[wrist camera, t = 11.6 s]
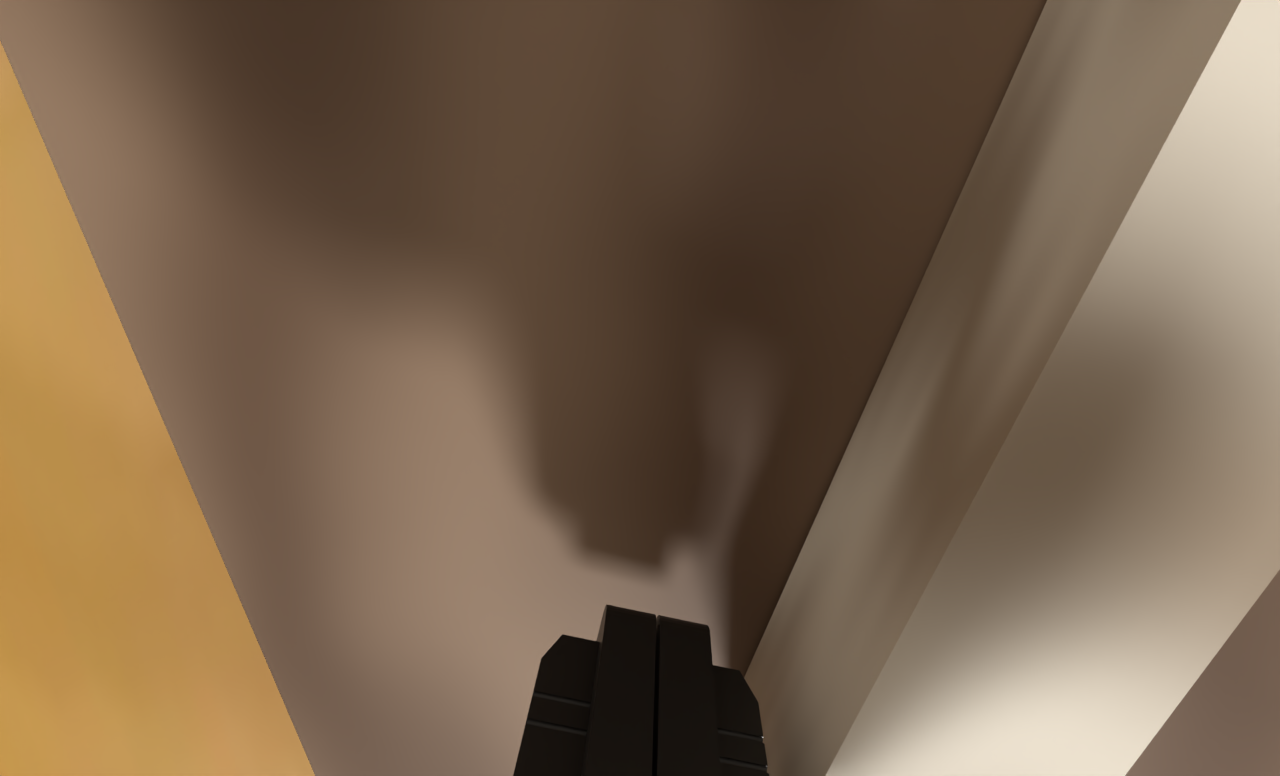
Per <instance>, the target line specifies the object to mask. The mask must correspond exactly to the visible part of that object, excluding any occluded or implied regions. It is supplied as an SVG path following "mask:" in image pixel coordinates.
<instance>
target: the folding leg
mask: <svg viewBox="0 0 1280 776" xmlns="http://www.w3.org/2000/svg"><path fill="white" fill-rule="evenodd" d="M1279 570H1280V0H1047V2H1046V4H1045V6H1044V8H1043V11H1042V13H1041V15H1040V17H1039V20H1038V22H1037V24H1036V26H1035V29H1034V31H1033V33H1032V35H1031V38H1030V40H1029V42H1028V44H1027V46H1026V49H1025V51H1024V53H1023V55H1022V58H1021V60H1020V62H1019V64H1018V67H1017V69H1016V71H1015V73H1014V76H1013V78H1012V80H1011V82H1010V84H1009V87H1008V89H1007V91H1006V93H1005V96H1004V98H1003V100H1002V102H1001V105H1000V107H999V109H998V111H997V114H996V116H995V118H994V120H993V122H992V125H991V127H990V129H989V131H988V134H987V136H986V138H985V140H984V143H983V145H982V147H981V149H980V152H979V154H978V156H977V158H976V160H975V163H974V165H973V167H972V169H971V172H970V174H969V176H968V178H967V181H966V183H965V185H964V187H963V190H962V192H961V194H960V196H959V198H958V201H957V203H956V205H955V207H954V210H953V212H952V214H951V216H950V219H949V221H948V223H947V225H946V228H945V230H944V232H943V234H942V236H941V239H940V241H939V243H938V245H937V248H936V250H935V252H934V254H933V257H932V259H931V261H930V263H929V266H928V268H927V270H926V272H925V274H924V277H923V279H922V281H921V283H920V286H919V288H918V290H917V292H916V295H915V297H914V299H913V301H912V304H911V306H910V308H909V310H908V312H907V315H906V317H905V319H904V321H903V324H902V326H901V328H900V330H899V333H898V335H897V337H896V339H895V342H894V344H893V346H892V348H891V350H890V353H889V355H888V357H887V359H886V362H885V364H884V366H883V368H882V371H881V373H880V375H879V377H878V380H877V382H876V384H875V386H874V388H873V391H872V393H871V395H870V397H869V400H868V402H867V404H866V406H865V409H864V411H863V413H862V415H861V418H860V420H859V422H858V424H857V426H856V429H855V431H854V433H853V435H852V438H851V440H850V442H849V444H848V447H847V449H846V451H845V453H844V456H843V458H842V460H841V462H840V464H839V467H838V469H837V471H836V473H835V476H834V478H833V480H832V482H831V485H830V487H829V489H828V491H827V494H826V496H825V498H824V500H823V502H822V505H821V507H820V509H819V511H818V514H817V516H816V518H815V520H814V523H813V525H812V527H811V529H810V532H809V534H808V536H807V538H806V540H805V543H804V545H803V547H802V549H801V552H800V554H799V556H798V558H797V561H796V563H795V565H794V567H793V570H792V572H791V574H790V576H789V579H788V581H787V583H786V585H785V587H784V590H783V592H782V594H781V596H780V599H779V601H778V603H777V605H776V608H775V610H774V612H773V614H772V617H771V619H770V621H769V623H768V625H767V628H766V630H765V632H764V634H763V637H762V639H761V641H760V643H759V646H758V648H757V650H756V652H755V655H754V657H753V659H752V661H751V663H750V666H749V668H748V670H747V672H746V675H745V677H744V679H745V680H746V682H747V684H748V686H749V687H750V689H751V691H752V692H753V694H754V696H755V697H756V699H757V701H758V703H759V710H760V717H761V724H762V730H763V743H764V744H765V751H766V757H767V764H768V766H767V773H769V776H1125V775H1126V774H1127V772H1128V771H1129V770H1130V768H1131V767H1132V766H1133V764H1134V763H1135V762H1136V760H1137V759H1138V758H1139V756H1140V755H1141V754H1142V752H1143V751H1144V750H1145V748H1146V747H1147V746H1148V744H1149V743H1150V742H1151V740H1152V739H1153V738H1154V736H1155V735H1156V734H1157V732H1158V731H1159V730H1160V728H1161V727H1162V726H1163V724H1164V723H1165V722H1166V720H1167V719H1168V718H1169V716H1170V715H1171V714H1172V712H1173V711H1174V710H1175V708H1176V707H1177V706H1178V704H1179V703H1180V702H1181V700H1182V699H1183V698H1184V696H1185V695H1186V694H1187V692H1188V691H1189V690H1190V688H1191V687H1192V686H1193V684H1194V683H1195V682H1196V680H1197V679H1198V678H1199V676H1200V675H1201V674H1202V672H1203V671H1204V670H1205V668H1206V667H1207V666H1208V664H1209V663H1210V662H1211V660H1212V659H1213V658H1214V656H1215V655H1216V654H1217V652H1218V651H1219V650H1220V648H1221V647H1222V646H1223V644H1224V643H1225V642H1226V640H1227V639H1228V638H1229V636H1230V635H1231V634H1232V632H1233V631H1234V630H1235V628H1236V627H1237V626H1238V624H1239V623H1240V622H1241V620H1242V619H1243V618H1244V616H1245V615H1246V614H1247V612H1248V611H1249V610H1250V608H1251V607H1252V606H1253V604H1254V603H1255V602H1256V600H1257V599H1258V598H1259V596H1260V595H1261V594H1262V592H1263V591H1264V590H1265V588H1266V587H1267V586H1268V584H1269V583H1270V582H1271V580H1272V579H1273V578H1274V576H1275V575H1276V574H1277V572H1278V571H1279Z"/></svg>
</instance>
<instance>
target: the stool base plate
mask: <svg viewBox="0 0 1280 776" xmlns="http://www.w3.org/2000/svg"><path fill="white" fill-rule="evenodd" d="M1046 2H1047V0H0V41H1V43H2V45H3V48H4V50H5V52H6V55H7V57H8V59H9V62H10V64H11V66H12V69H13V71H14V73H15V76H16V78H17V80H18V83H19V85H20V87H21V90H22V92H23V94H24V97H25V99H26V101H27V104H28V106H29V108H30V111H31V113H32V115H33V118H34V120H35V122H36V125H37V127H38V129H39V132H40V134H41V136H42V139H43V141H44V143H45V146H46V148H47V150H48V153H49V155H50V157H51V160H52V162H53V164H54V167H55V169H56V171H57V174H58V176H59V178H60V181H61V183H62V185H63V188H64V190H65V192H66V195H67V197H68V199H69V202H70V204H71V206H72V209H73V211H74V213H75V216H76V218H77V220H78V223H79V225H80V227H81V230H82V232H83V234H84V237H85V239H86V241H87V244H88V246H89V248H90V251H91V253H92V255H93V258H94V260H95V262H96V265H97V267H98V269H99V272H100V274H101V276H102V279H103V281H104V283H105V286H106V288H107V290H108V293H109V295H110V297H111V300H112V302H113V304H114V307H115V309H116V312H117V314H118V316H119V319H120V321H121V323H122V326H123V328H124V330H125V333H126V335H127V337H128V340H129V342H130V344H131V347H132V349H133V351H134V354H135V356H136V358H137V361H138V363H139V365H140V368H141V370H142V372H143V375H144V377H145V379H146V382H147V384H148V386H149V389H150V391H151V393H152V396H153V398H154V400H155V403H156V405H157V407H158V410H159V412H160V414H161V417H162V419H163V421H164V424H165V426H166V428H167V431H168V433H169V435H170V438H171V440H172V442H173V445H174V447H175V449H176V452H177V454H178V456H179V459H180V461H181V463H182V466H183V468H184V470H185V473H186V475H187V477H188V480H189V482H190V484H191V487H192V489H193V491H194V494H195V496H196V498H197V501H198V503H199V505H200V508H201V510H202V512H203V515H204V517H205V519H206V522H207V524H208V526H209V529H210V531H211V533H212V536H213V538H214V540H215V543H216V545H217V547H218V550H219V552H220V554H221V557H222V559H223V561H224V564H225V566H226V568H227V571H228V573H229V575H230V578H231V580H232V582H233V585H234V587H235V589H236V592H237V594H238V596H239V599H240V601H241V603H242V606H243V608H244V610H245V613H246V615H247V617H248V620H249V622H250V624H251V627H252V629H253V631H254V634H255V636H256V638H257V641H258V643H259V645H260V648H261V650H262V652H263V655H264V657H265V659H266V662H267V664H268V666H269V669H270V671H271V673H272V676H273V678H274V680H275V683H276V685H277V687H278V690H279V692H280V694H281V697H282V699H283V701H284V704H285V706H286V708H287V711H288V713H289V715H290V718H291V720H292V722H293V725H294V727H295V729H296V732H297V734H298V736H299V739H300V741H301V743H302V746H303V748H304V750H305V753H306V755H307V757H308V760H309V762H310V764H311V767H312V769H313V771H314V774H315V776H513V774H514V770H515V766H516V761H517V757H518V753H519V749H520V745H521V741H522V736H523V732H524V728H525V724H526V720H527V715H528V711H529V707H530V703H531V699H532V695H533V690H534V686H535V682H536V678H537V674H538V669H539V665H540V661H541V658H542V657H543V656H544V655H545V653H546V652H547V651H548V650H549V649H550V648H551V647H552V646H553V644H554V643H555V642H556V641H557V640H558V639H559V638H560V636H561V635H562V634H564V635H568V636H573V637H578V638H583V639H588V640H593V641H596V640H597V636H598V632H599V628H600V624H601V620H602V616H603V612H604V609H605V606H606V604H607V605H612V606H617V607H622V608H627V609H631V610H636V611H641V612H646V613H651V614H655V615H656V618H657V616H658V615H661V616H666V617H671V618H676V619H681V620H685V621H690V622H695V623H700V624H705V625H708V626H709V629H710V636H711V650H712V663H713V665H716V666H720V667H725V668H730V669H735V670H740V672H741V674H742V675H743V677H745V675H746V672H747V670H748V668H749V666H750V663H751V661H752V659H753V657H754V655H755V652H756V650H757V648H758V646H759V643H760V641H761V639H762V637H763V634H764V632H765V630H766V628H767V625H768V623H769V621H770V619H771V617H772V614H773V612H774V610H775V608H776V605H777V603H778V601H779V599H780V596H781V594H782V592H783V590H784V587H785V585H786V583H787V581H788V579H789V576H790V574H791V572H792V570H793V567H794V565H795V563H796V561H797V558H798V556H799V554H800V552H801V549H802V547H803V545H804V543H805V540H806V538H807V536H808V534H809V532H810V529H811V527H812V525H813V523H814V520H815V518H816V516H817V514H818V511H819V509H820V507H821V505H822V502H823V500H824V498H825V496H826V494H827V491H828V489H829V487H830V485H831V482H832V480H833V478H834V476H835V473H836V471H837V469H838V467H839V464H840V462H841V460H842V458H843V456H844V453H845V451H846V449H847V447H848V444H849V442H850V440H851V438H852V435H853V433H854V431H855V429H856V426H857V424H858V422H859V420H860V418H861V415H862V413H863V411H864V409H865V406H866V404H867V402H868V400H869V397H870V395H871V393H872V391H873V388H874V386H875V384H876V382H877V380H878V377H879V375H880V373H881V371H882V368H883V366H884V364H885V362H886V359H887V357H888V355H889V353H890V350H891V348H892V346H893V344H894V342H895V339H896V337H897V335H898V333H899V330H900V328H901V326H902V324H903V321H904V319H905V317H906V315H907V312H908V310H909V308H910V306H911V304H912V301H913V299H914V297H915V295H916V292H917V290H918V288H919V286H920V283H921V281H922V279H923V277H924V274H925V272H926V270H927V268H928V266H929V263H930V261H931V259H932V257H933V254H934V252H935V250H936V248H937V245H938V243H939V241H940V239H941V236H942V234H943V232H944V230H945V228H946V225H947V223H948V221H949V219H950V216H951V214H952V212H953V210H954V207H955V205H956V203H957V201H958V198H959V196H960V194H961V192H962V190H963V187H964V185H965V183H966V181H967V178H968V176H969V174H970V172H971V169H972V167H973V165H974V163H975V160H976V158H977V156H978V154H979V152H980V149H981V147H982V145H983V143H984V140H985V138H986V136H987V134H988V131H989V129H990V127H991V125H992V122H993V120H994V118H995V116H996V114H997V111H998V109H999V107H1000V105H1001V102H1002V100H1003V98H1004V96H1005V93H1006V91H1007V89H1008V87H1009V84H1010V82H1011V80H1012V78H1013V76H1014V73H1015V71H1016V69H1017V67H1018V64H1019V62H1020V60H1021V58H1022V55H1023V53H1024V51H1025V49H1026V46H1027V44H1028V42H1029V40H1030V38H1031V35H1032V33H1033V31H1034V29H1035V26H1036V24H1037V22H1038V20H1039V17H1040V15H1041V13H1042V11H1043V8H1044V6H1045V4H1046ZM1125 776H1280V570H1279V571H1278V572H1277V574H1276V575H1275V576H1274V578H1273V579H1272V580H1271V582H1270V583H1269V584H1268V586H1267V587H1266V588H1265V590H1264V591H1263V592H1262V594H1261V595H1260V596H1259V598H1258V599H1257V600H1256V602H1255V603H1254V604H1253V606H1252V607H1251V608H1250V610H1249V611H1248V612H1247V614H1246V615H1245V616H1244V618H1243V619H1242V620H1241V622H1240V623H1239V624H1238V626H1237V627H1236V628H1235V630H1234V631H1233V632H1232V634H1231V635H1230V636H1229V638H1228V639H1227V640H1226V642H1225V643H1224V644H1223V646H1222V647H1221V648H1220V650H1219V651H1218V652H1217V654H1216V655H1215V656H1214V658H1213V659H1212V660H1211V662H1210V663H1209V664H1208V666H1207V667H1206V668H1205V670H1204V671H1203V672H1202V674H1201V675H1200V676H1199V678H1198V679H1197V680H1196V682H1195V683H1194V684H1193V686H1192V687H1191V688H1190V690H1189V691H1188V692H1187V694H1186V695H1185V696H1184V698H1183V699H1182V700H1181V702H1180V703H1179V704H1178V706H1177V707H1176V708H1175V710H1174V711H1173V712H1172V714H1171V715H1170V716H1169V718H1168V719H1167V720H1166V722H1165V723H1164V724H1163V726H1162V727H1161V728H1160V730H1159V731H1158V732H1157V734H1156V735H1155V736H1154V738H1153V739H1152V740H1151V742H1150V743H1149V744H1148V746H1147V747H1146V748H1145V750H1144V751H1143V752H1142V754H1141V755H1140V756H1139V758H1138V759H1137V760H1136V762H1135V763H1134V764H1133V766H1132V767H1131V768H1130V770H1129V771H1128V772H1127V774H1126V775H1125Z"/></svg>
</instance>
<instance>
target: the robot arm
mask: <svg viewBox="0 0 1280 776" xmlns="http://www.w3.org/2000/svg"><path fill="white" fill-rule="evenodd" d="M767 766H768V764H767V757H766V751H765V744H764V743H763V730H762V724H761V717H760V710H759V703H758V701H757V699H756V697H755V696H754V694H753V692H752V691H751V689H750V687H749V686H748V684H747V682H746V680H745V679H744V677H743V675H742V674H741V672H740V670H735V669H730V668H725V667H720V666H716V665H713V663H712V650H711V636H710V629H709V626H708V625H705V624H700V623H695V622H690V621H685V620H681V619H676V618H671V617H666V616H661V615H658V616H657V618H656V615H655V614H651V613H646V612H641V611H636V610H631V609H627V608H622V607H617V606H612V605H607V604H606V606H605V609H604V612H603V616H602V620H601V624H600V628H599V632H598V636H597V640H596V641H593V640H588V639H583V638H578V637H573V636H568V635H564V634H562V635H561V636H560V638H559V639H558V640H557V641H556V642H555V643H554V644H553V646H552V647H551V648H550V649H549V650H548V651H547V652H546V653H545V655H544V656H543V657H542V658H541V661H540V665H539V669H538V674H537V678H536V682H535V686H534V690H533V695H532V699H531V703H530V707H529V711H528V715H527V720H526V724H525V728H524V732H523V736H522V741H521V745H520V749H519V753H518V757H517V761H516V766H515V770H514V774H513V776H769V773H767Z"/></svg>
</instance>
